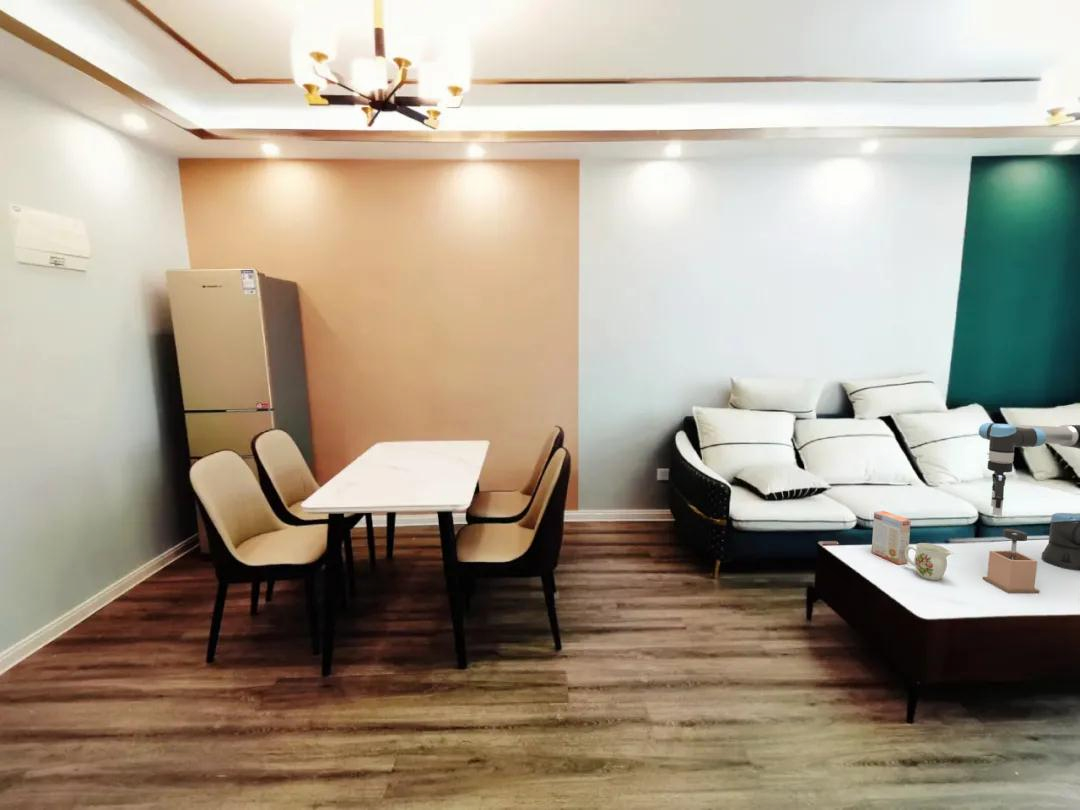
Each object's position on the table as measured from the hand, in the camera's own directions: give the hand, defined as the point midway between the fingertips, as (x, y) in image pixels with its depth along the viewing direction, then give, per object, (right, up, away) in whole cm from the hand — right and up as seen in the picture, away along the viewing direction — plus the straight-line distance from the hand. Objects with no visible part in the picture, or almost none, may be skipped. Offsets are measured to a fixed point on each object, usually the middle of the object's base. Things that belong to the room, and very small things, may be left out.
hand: (996, 510), depth 203 cm
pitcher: (-23, -30, +8) cm, 39 cm away
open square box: (+3, -31, -2) cm, 31 cm away
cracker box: (-27, -28, +26) cm, 46 cm away
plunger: (+3, -23, -3) cm, 23 cm away
